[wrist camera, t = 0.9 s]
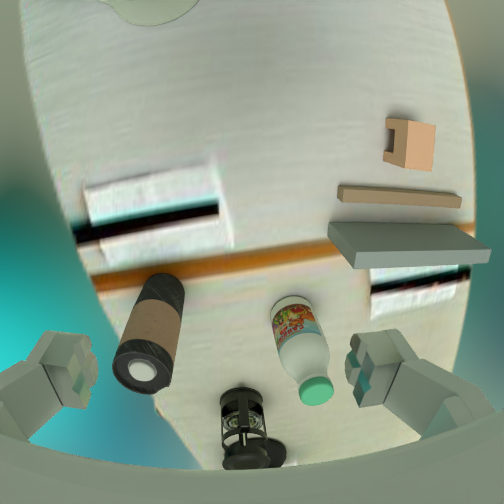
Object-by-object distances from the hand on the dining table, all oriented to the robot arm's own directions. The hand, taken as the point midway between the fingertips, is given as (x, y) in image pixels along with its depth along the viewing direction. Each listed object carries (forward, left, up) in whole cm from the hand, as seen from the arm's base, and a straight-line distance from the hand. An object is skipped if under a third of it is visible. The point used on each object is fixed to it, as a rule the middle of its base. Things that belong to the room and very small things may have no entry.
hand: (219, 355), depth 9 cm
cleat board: (+7, +30, -40) cm, 50 cm away
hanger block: (-5, +28, -40) cm, 49 cm away
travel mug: (+21, -10, -40) cm, 46 cm away
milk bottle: (+26, +12, -40) cm, 49 cm away
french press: (+49, +3, -40) cm, 63 cm away
